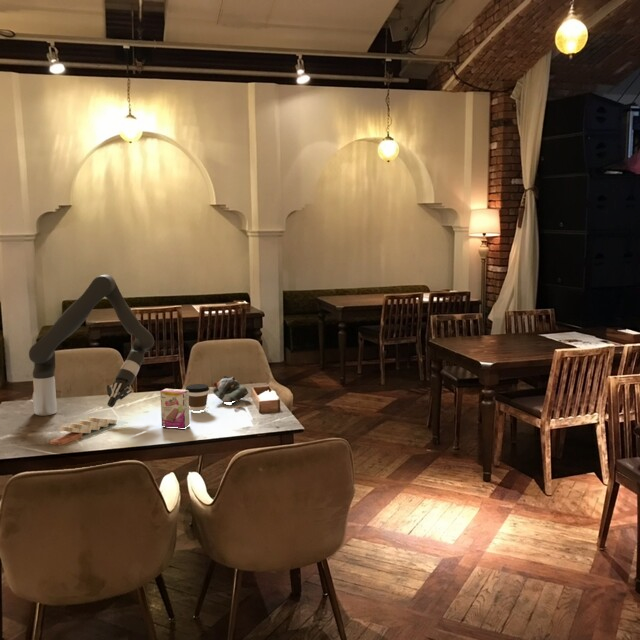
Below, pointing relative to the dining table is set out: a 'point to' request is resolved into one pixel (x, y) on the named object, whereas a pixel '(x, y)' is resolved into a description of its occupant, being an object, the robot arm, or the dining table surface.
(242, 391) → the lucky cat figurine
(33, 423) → the dining table surface
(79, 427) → the domino
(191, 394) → the coffee cup
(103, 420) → the domino
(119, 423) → the domino board
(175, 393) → the candy bar box
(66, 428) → the domino
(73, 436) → the domino
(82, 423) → the domino
